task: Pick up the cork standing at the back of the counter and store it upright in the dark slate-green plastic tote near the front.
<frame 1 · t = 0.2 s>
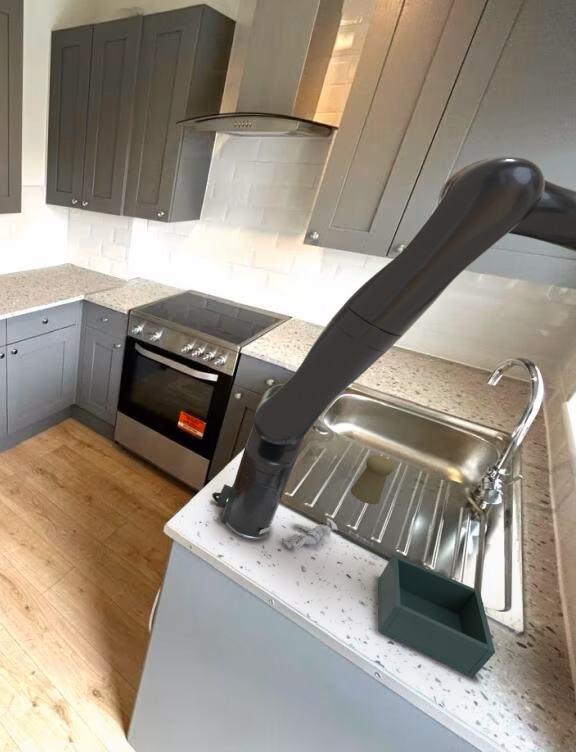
cork: (364, 495, 104), on the worktop
tote: (420, 623, 75), on the worktop
soldier figure: (307, 542, 90), on the worktop
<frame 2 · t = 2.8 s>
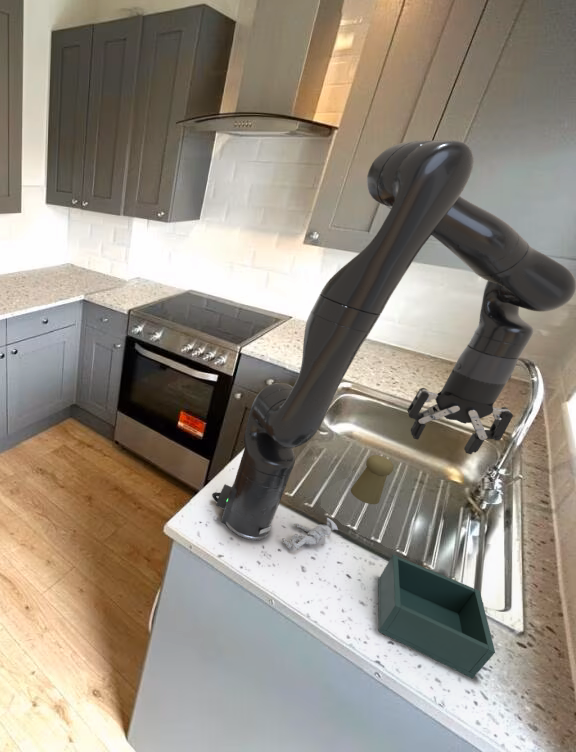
hand: (440, 444, 86), 22 cm above the worktop, tool pointing down, fingers open, 8 cm apart
nothing on the worktop moved.
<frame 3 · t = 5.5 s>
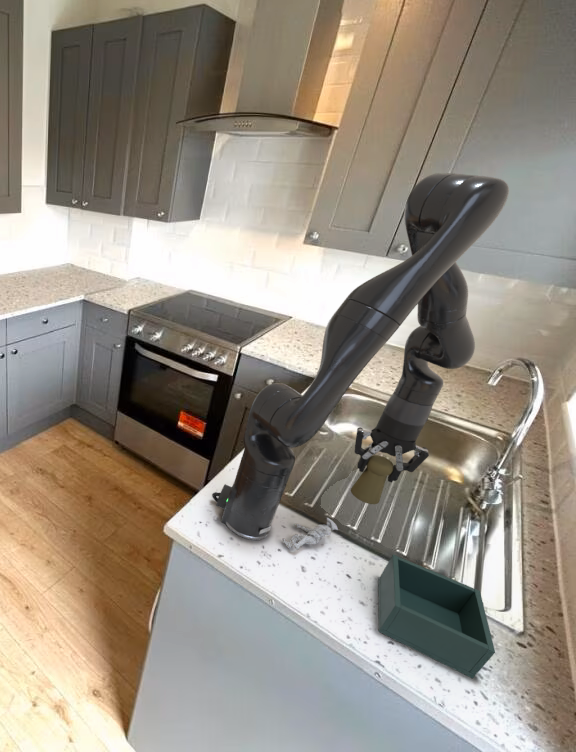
hand: (375, 474, 101), 6 cm above the worktop, tool pointing down, fingers closed on cork, 5 cm apart
cork: (364, 495, 104), on the worktop, touching gripper
everything else where it was.
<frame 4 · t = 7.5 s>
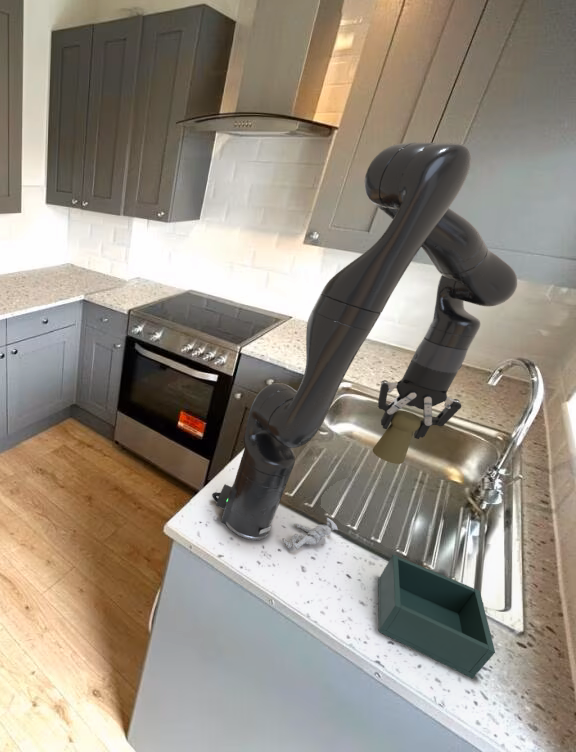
hand: (400, 431, 94), 20 cm above the worktop, tool pointing down, fingers closed on cork, 5 cm apart
cork: (387, 455, 97), point 13 cm above the worktop, touching gripper
everything else where it was.
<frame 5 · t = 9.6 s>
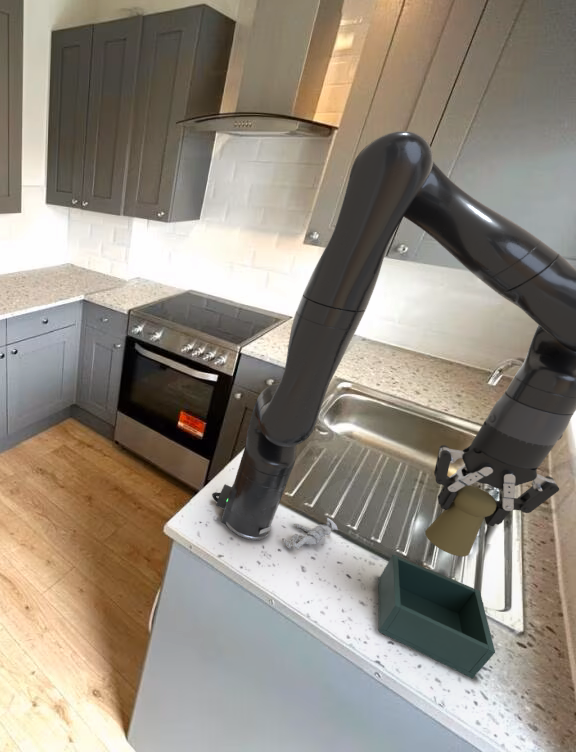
hand: (465, 513, 70), 21 cm above the worktop, tool pointing down, fingers closed on cork, 5 cm apart
cork: (446, 542, 73), point 15 cm above the worktop, touching gripper
everything else where it was.
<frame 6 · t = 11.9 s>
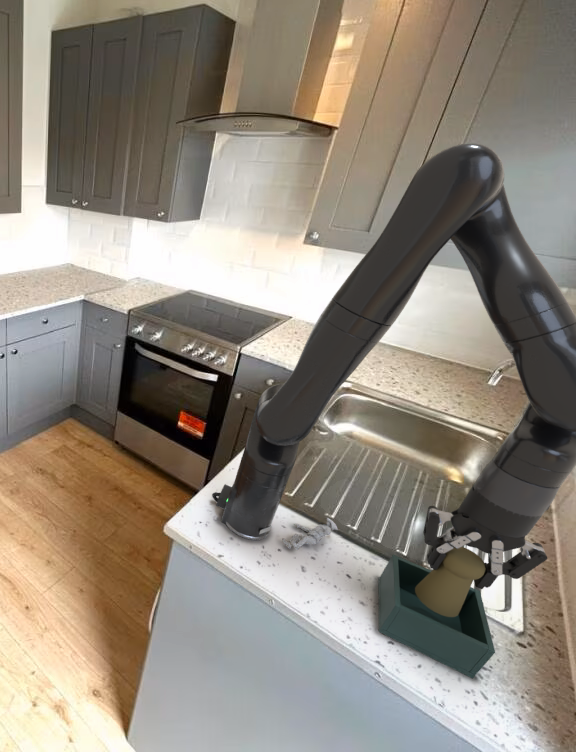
hand: (454, 574, 69), 13 cm above the worktop, tool pointing down, fingers closed on cork, 5 cm apart
cork: (436, 600, 72), point 6 cm above the worktop, touching gripper
everything else where it was.
when the fingers open (7 cm above the worktop, at t = 13.7 s): cork stays where it is, resting on tote.
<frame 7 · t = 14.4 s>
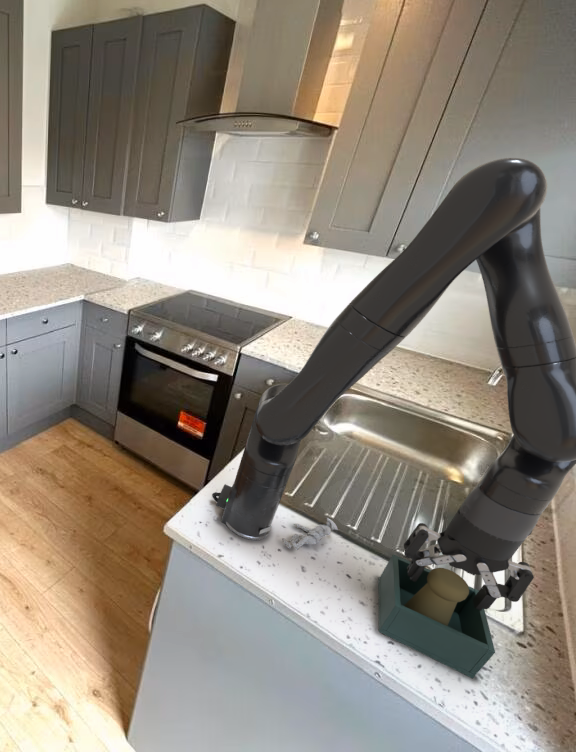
hand: (443, 591, 71), 9 cm above the worktop, tool pointing down, fingers open, 8 cm apart
cork: (422, 620, 75), point 1 cm above the worktop, touching tote
everything else where it was.
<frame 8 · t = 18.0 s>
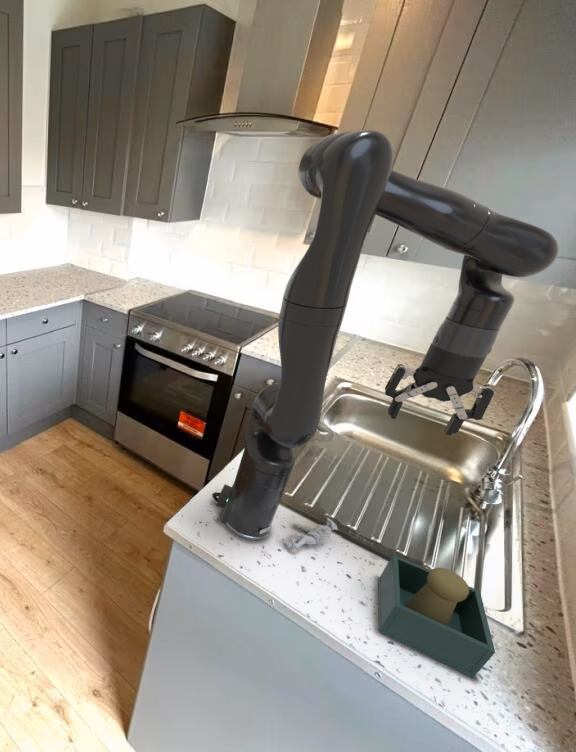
hand: (419, 424, 81), 28 cm above the worktop, tool pointing down, fingers open, 8 cm apart
nothing on the worktop moved.
at the end: cork inside the target area in the tote (0.1 cm from its centre), point 0.8 cm above the tote's base; cork tilted 0°; the gripper is holding nothing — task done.
